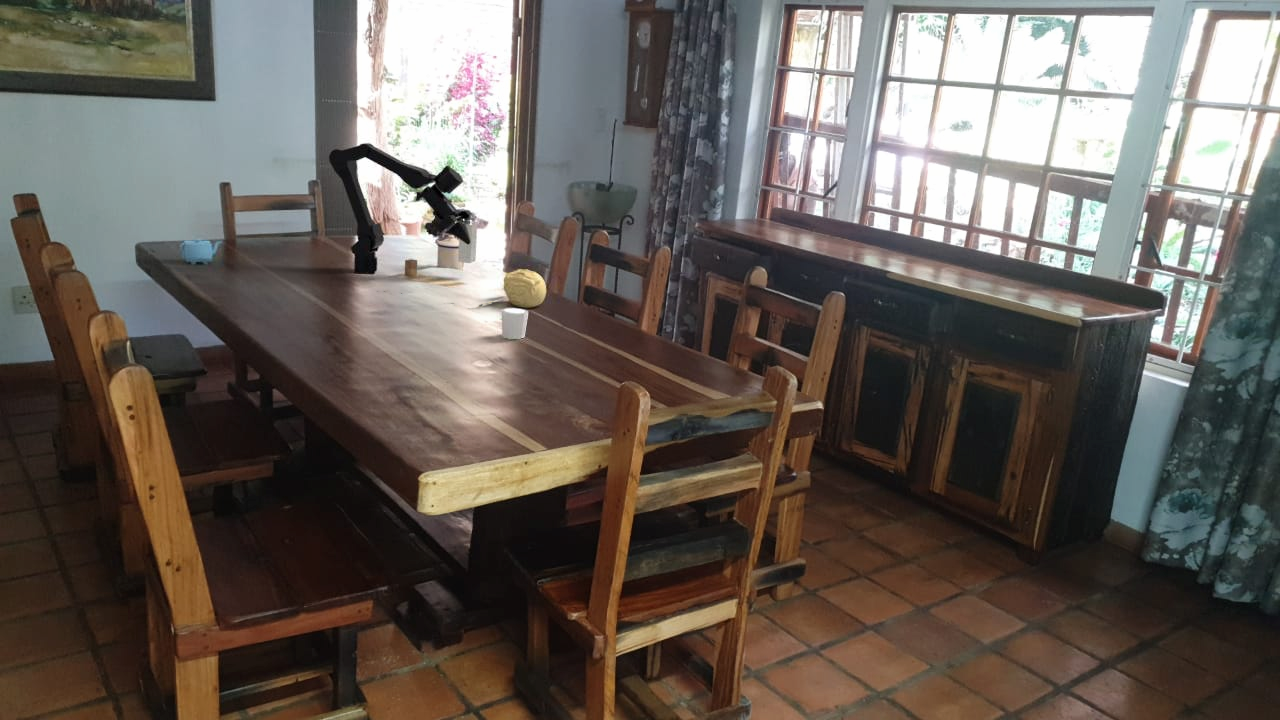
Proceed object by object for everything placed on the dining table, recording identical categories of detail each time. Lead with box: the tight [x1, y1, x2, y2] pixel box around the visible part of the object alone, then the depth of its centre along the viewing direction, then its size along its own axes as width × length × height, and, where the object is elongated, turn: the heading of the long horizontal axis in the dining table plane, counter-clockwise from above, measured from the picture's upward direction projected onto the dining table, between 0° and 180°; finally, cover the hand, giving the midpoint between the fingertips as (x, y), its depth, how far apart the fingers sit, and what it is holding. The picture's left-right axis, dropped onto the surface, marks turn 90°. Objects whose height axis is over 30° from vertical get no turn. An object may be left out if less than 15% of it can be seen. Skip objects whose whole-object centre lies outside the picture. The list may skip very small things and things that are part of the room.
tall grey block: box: [458, 219, 478, 264], centre depth 290 cm, size 4×5×13 cm
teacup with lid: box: [437, 234, 464, 271], centre depth 312 cm, size 12×9×12 cm
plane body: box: [396, 258, 468, 289], centre depth 287 cm, size 21×8×6 cm, turn 66°
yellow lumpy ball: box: [503, 268, 547, 309], centre depth 272 cm, size 11×12×11 cm
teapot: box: [179, 238, 222, 265], centre depth 288 cm, size 12×6×8 cm, turn 121°
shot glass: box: [500, 307, 529, 340], centre depth 237 cm, size 7×7×7 cm
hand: (472, 242), depth 290 cm, fingers closed on tall grey block, 5 cm apart
